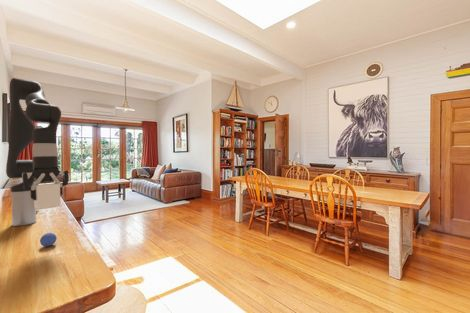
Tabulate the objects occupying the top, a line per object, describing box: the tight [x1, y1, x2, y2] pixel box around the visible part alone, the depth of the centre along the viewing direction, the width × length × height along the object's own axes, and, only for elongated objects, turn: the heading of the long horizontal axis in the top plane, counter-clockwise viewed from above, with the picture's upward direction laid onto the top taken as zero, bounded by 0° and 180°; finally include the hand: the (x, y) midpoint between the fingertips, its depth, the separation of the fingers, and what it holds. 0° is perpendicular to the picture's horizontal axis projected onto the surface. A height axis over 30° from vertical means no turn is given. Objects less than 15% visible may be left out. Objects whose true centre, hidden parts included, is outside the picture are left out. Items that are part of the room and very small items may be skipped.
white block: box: [34, 182, 62, 211], centre depth 89 cm, size 7×7×9 cm
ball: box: [39, 232, 58, 248], centre depth 89 cm, size 5×5×5 cm
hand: (47, 198), depth 89 cm, fingers closed on white block, 7 cm apart
